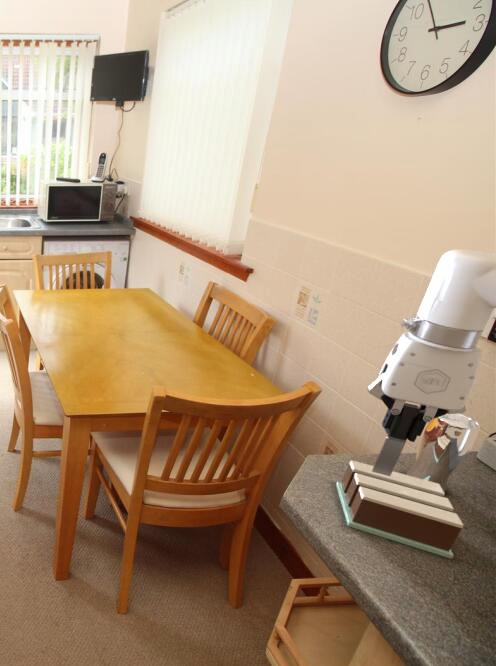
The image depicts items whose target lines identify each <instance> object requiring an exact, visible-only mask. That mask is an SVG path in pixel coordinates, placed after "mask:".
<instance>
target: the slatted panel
mask: <svg viewBox="0 0 496 666" xmlns="http://www.w3.org/2000/svg"><path fill="white" fill-rule="evenodd" d="M373 467H374V465H371V464H368V463H364V462H359V461H357V460H353V459H350V461H349V463H348V465H347V468H346V470H345V473H344V475H343V478H342V480H341V481H338V480H337V481H336V483H335V487H336V490H337V493H338V497H339V500H340V503H341V507H342V511H343V514H344V517H345V521H346V524H347V527H350V528H353V529H356V530H359V531H361V532H365V533H368V534H371V535H375V536H378V537H381V538H383V539H388V540H391V541H394V542H397V543H400V544H402V545H406V546H409V547H413V548H416V549H418V550H422V551H425V552H428V553H431V554H435V555H438V556H441V557H444V558H447V559H451V560H452V559H454V556H455V555H454V553H453V552H452V547H453V545H454V544H455V542H456V540H457V538H458V536H459V535H460V533H461V531H462V529H463V528H464V524H463V522H462V520H461V519H460V517H459V514H458V513H455V512H453V511H454V506H453V505H452V503H451V501H450V500H449V498H448V497H444V496H445V492H444V491H443V490H442V488H441V486H440V485H439V484H438V483H434V482H430V481H427V480H423V479H419V478H416V477H412V476H408V475H405V473H400V472H397V471H394V470H393V471H392V474H391V476H386V475H383V474H379V473H375V472H372V469H373Z"/></svg>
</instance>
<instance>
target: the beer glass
mask: <svg viewBox="0 0 496 666" xmlns="http://www.w3.org/2000/svg"><path fill="white" fill-rule="evenodd" d="M481 428H482V427H481V424H480V423H479V422H478V421H476V420H475V419H473V418H471V417H469V416H468V415H465V414H463V413H458V414H445V415H443V416H440V417H437V418H434V419H433V420H432V421H431V422H427V423H426V425H425V427H424V430H423V432H422V434H421V436H419V439H418V444H417V450H416V454H415V459H414V461H413V462H412V465H411V466H410V467H409V468H408V470H407V471H406V472H405V473H404V475H408V476H412V477H416V478H419V479H423V480H427V481H430V482H434V483H438V484H439V485H440V486H441V488H442V490H443V491H444V493H445V492H446V489H447V485H448V481H449V479H450V476H451V475H452V473H453V472H454V471H455V469H456V468H458V467H459V465H460V464H461V463H462V462H463V461H464V460H465V458H467V456H468V455H469V453H470V451H472V448H473V446H474V444H475V442H476V440H477V437H478V434H479V432H480V429H481Z"/></svg>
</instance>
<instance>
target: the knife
mask: <svg viewBox="0 0 496 666" xmlns="http://www.w3.org/2000/svg"><path fill="white" fill-rule="evenodd" d="M419 412H420V408H419V405H418V404H414V403H413V404H412V403H409V402H405V404H404V406H403V408H402V410H401V414H400V415H401V416H402V420H401V423H400V425H399V427H398V429H397V432H396V434H395V436H393V437H390V436H388V435H387V437H386V438H385V440H384V442H383V444H382V447H381V449H380V452H379V454H378V456H377V458H376V460H375V462H374V465H373V466H374V467H373V469H372V472H375V473H379V474H383V475H386V476H391V474H392V471H393V472H394V469H395V467H396V465H397V462H398V461H399V459H400V456H401V454H402V452H403V451H404V450H403V449H404V447H405V445H406V442H407V440H408V439H407V437H408V435H409V433H410V431H411V429H412V426H413V424H414V422H415V420H416V418H417V416H418V414H419Z"/></svg>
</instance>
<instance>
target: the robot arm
mask: <svg viewBox="0 0 496 666" xmlns="http://www.w3.org/2000/svg"><path fill="white" fill-rule="evenodd" d="M495 309H496V253H492V252H487V251H481V250H473V249H451V250H448V251H447V252H445V253H444V254H442V255H441V256H440V259H439V261H438V263H437V265H436V267H435V269H434V273H433V274H432V277H431V280H430V282H429V284H428V287H427V290H426V291H425V294H424V297H423V299H422V300H421V303H420V306H419V307H418V311H417V313H416V314H414V316H413V317H412V318H409V319H407V318H403V319H402V320H401V322H400V327H401V328H405V329H406V330H408V331H405V332H403V334H401V336H400V337H399V338H398V340H397V341H396V343H395V344H394V346H393V347H392V349H391V350H390V352H389V354H388V356H386V359H385V361H384V363H383V364H382V366H381V368H380V371H379V374H378V377H377V378H376V379H375V380H374V381H372V382H371V383H370V384H369V385H368V386H367V387H366V390H367V392H368V393H369V394H370V395H372V396H373V397H375V398H376V399H378V400H380V401H381V402H383V404H384V406H385V407H386V408H387V410H386V413H385V415H384V417H383V420H382V422H381V423H382V424H381V426H382V428H383V429H384V431H385V433H386V435H387V437H388V436H390V437H393V436H395V434H396V432H397V429H398V427H399V425H400V423H401V420H402V416H401V415H400V414H401V410H402V408H403V406H404V404H405V403H411V404H412V403H413V404H416V405H418V407H419V408H420V412H419V414H418V416H417V418H416V420H415V422H414V424H413V426H412V429H411V431H410V433H409V435H408V437H407V440H408V441H409V442H412V443H415V442H416V440H417V438H418V437H420V436H421V434H422V432H423V430H424V427H425V425H426V423H427V422H431V421H432V420H433V419H434V418H437V417H440V416H443V415H445V414H458V413H460V414H464V413H466V404H467V402H468V401H469V397H470V396H471V393H472V390H473V388H474V385H475V383H476V378H477V375H478V371H479V368H480V364H481V360H482V353H483V351H482V349H480V348H479V347H477V345H478V342H479V340H480V339H481V336H482V335H483V332H484V329H485V328H486V326H487V324H488V322H489V320H490V317H491V315H492V313H493V311H494V310H495Z"/></svg>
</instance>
